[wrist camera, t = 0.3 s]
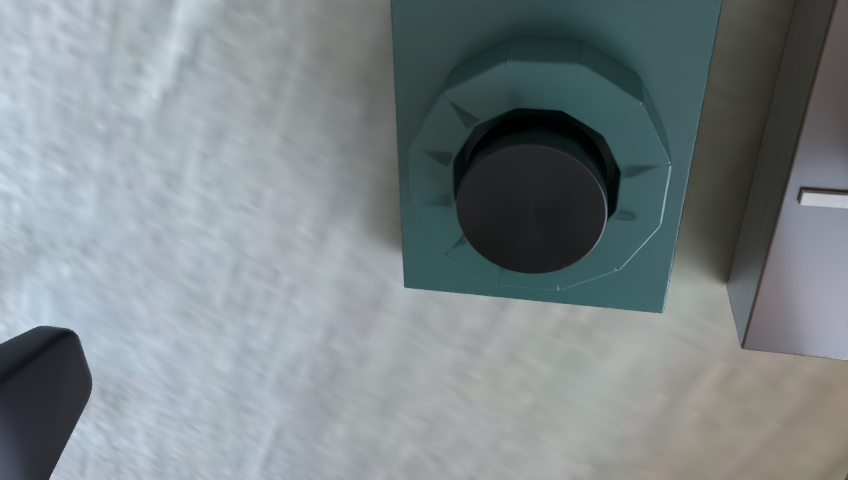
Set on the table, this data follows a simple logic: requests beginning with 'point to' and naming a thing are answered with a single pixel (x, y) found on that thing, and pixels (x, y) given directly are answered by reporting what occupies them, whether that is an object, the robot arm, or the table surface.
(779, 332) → the dial panel
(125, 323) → the table surface
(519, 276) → the button box
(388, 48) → the table surface
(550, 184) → the button
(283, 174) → the table surface
